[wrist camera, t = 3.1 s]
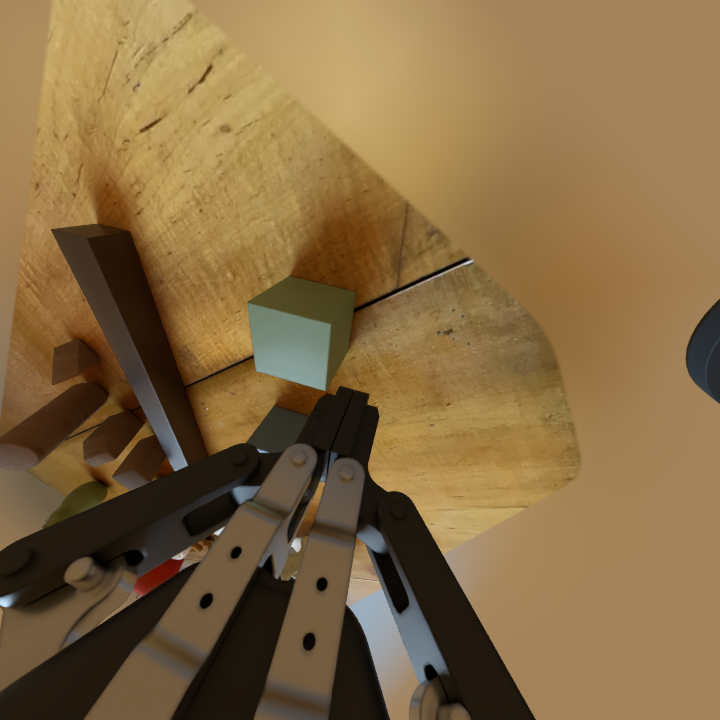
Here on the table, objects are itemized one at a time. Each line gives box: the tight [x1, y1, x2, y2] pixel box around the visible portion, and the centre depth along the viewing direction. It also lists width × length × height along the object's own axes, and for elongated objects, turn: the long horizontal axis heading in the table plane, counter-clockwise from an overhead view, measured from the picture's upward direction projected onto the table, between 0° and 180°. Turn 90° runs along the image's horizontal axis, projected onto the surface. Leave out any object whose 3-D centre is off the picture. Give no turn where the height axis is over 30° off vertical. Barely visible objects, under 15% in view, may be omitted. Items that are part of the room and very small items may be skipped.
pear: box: [42, 481, 107, 529], centre depth 53 cm, size 6×5×10 cm
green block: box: [248, 276, 356, 391], centre depth 18 cm, size 5×5×5 cm
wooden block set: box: [0, 339, 166, 490], centre depth 31 cm, size 18×9×10 cm, turn 18°
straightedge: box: [51, 224, 208, 471], centre depth 30 cm, size 3×38×3 cm, turn 172°
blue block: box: [246, 406, 309, 453], centre depth 26 cm, size 5×5×5 cm
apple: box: [133, 558, 184, 598], centre depth 67 cm, size 10×10×12 cm
